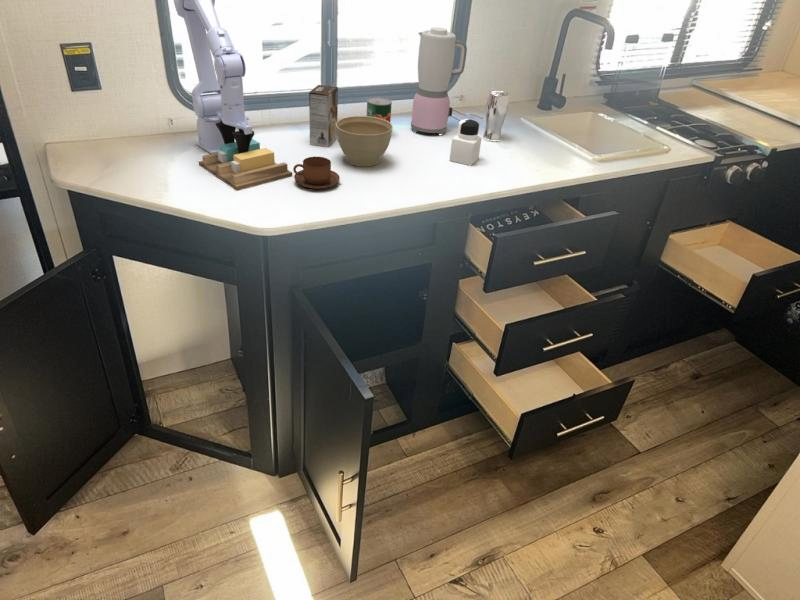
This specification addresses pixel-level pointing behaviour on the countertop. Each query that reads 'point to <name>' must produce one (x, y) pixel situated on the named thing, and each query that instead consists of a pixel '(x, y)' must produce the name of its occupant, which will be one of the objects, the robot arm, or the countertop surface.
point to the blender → (435, 79)
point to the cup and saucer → (316, 173)
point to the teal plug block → (234, 150)
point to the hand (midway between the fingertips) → (236, 152)
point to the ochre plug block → (252, 160)
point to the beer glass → (495, 114)
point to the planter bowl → (363, 139)
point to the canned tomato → (379, 108)
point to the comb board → (243, 173)
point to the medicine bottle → (466, 143)
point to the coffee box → (323, 115)
